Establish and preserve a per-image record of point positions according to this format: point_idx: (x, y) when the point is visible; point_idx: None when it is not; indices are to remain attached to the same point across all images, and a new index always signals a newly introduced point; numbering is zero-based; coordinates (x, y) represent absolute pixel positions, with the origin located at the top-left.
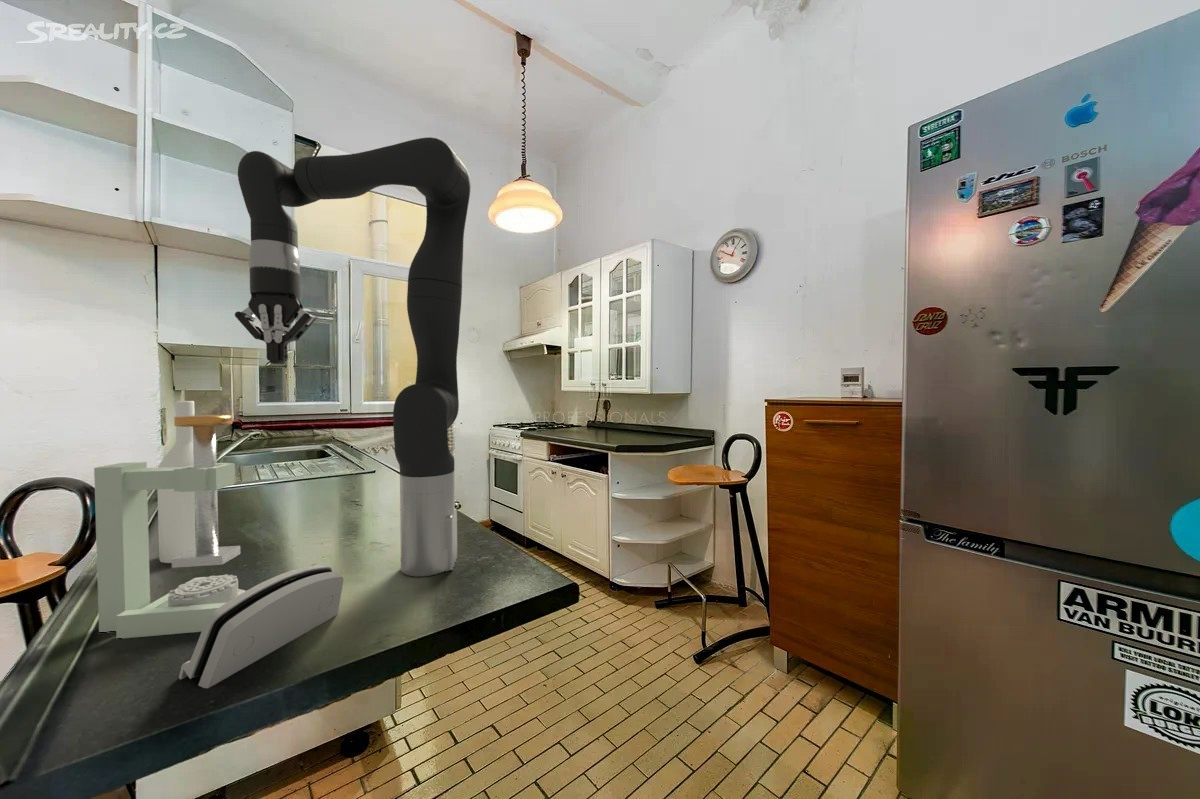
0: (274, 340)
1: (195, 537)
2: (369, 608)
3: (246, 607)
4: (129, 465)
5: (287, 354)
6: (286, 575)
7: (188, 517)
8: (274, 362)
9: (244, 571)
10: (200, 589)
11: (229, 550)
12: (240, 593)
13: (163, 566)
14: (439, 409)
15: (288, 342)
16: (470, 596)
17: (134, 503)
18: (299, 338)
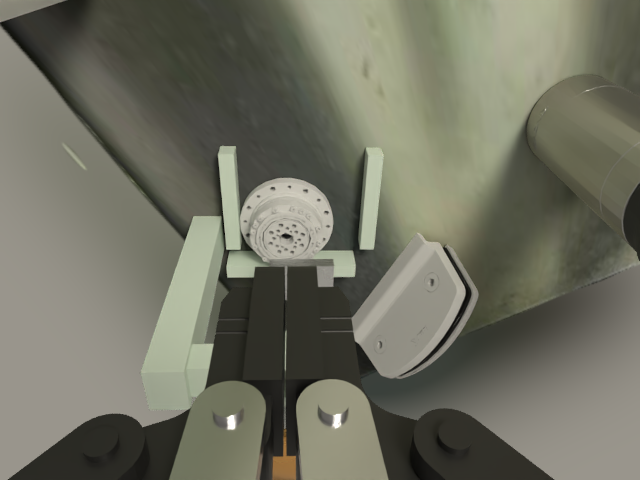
0: (271, 463)
1: None
2: (487, 241)
3: (410, 370)
4: (187, 397)
5: (351, 322)
6: (433, 345)
7: (48, 3)
8: (285, 327)
9: (250, 77)
10: (290, 250)
11: (330, 282)
12: (314, 200)
13: (58, 12)
14: None
15: (382, 421)
16: (611, 232)
17: (199, 340)
18: (493, 434)
